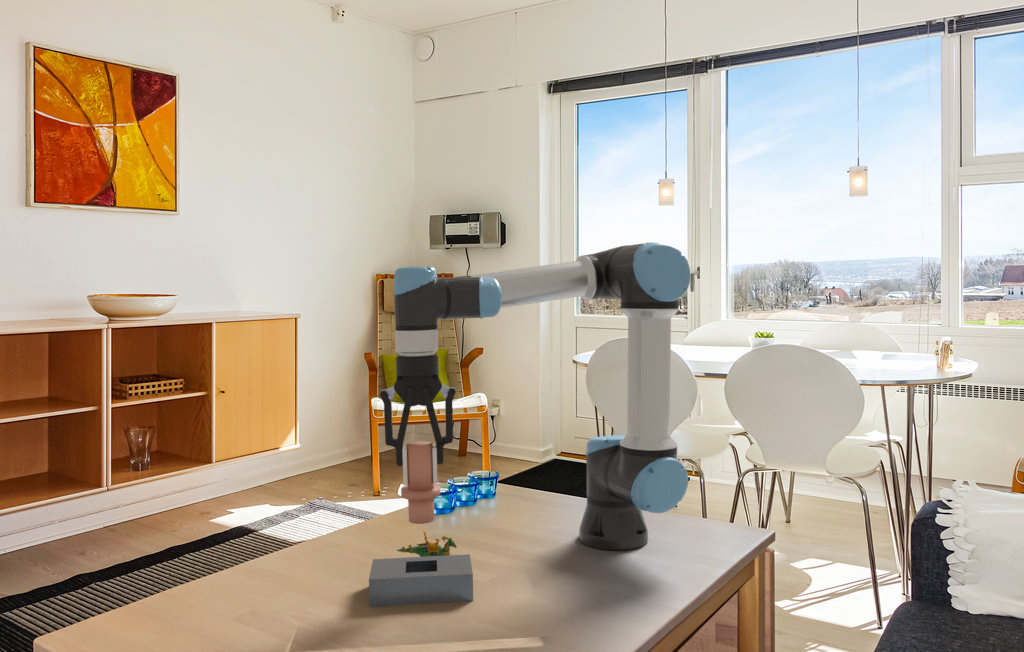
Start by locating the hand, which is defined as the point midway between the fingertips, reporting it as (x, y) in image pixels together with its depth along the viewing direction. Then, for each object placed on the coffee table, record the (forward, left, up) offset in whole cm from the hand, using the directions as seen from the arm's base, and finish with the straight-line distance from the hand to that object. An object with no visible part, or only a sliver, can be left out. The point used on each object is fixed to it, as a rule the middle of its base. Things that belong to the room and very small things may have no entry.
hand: (420, 482), depth 137 cm
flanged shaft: (0, 0, -7) cm, 7 cm away
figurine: (-1, -14, -21) cm, 25 cm away
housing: (0, 0, -21) cm, 21 cm away
